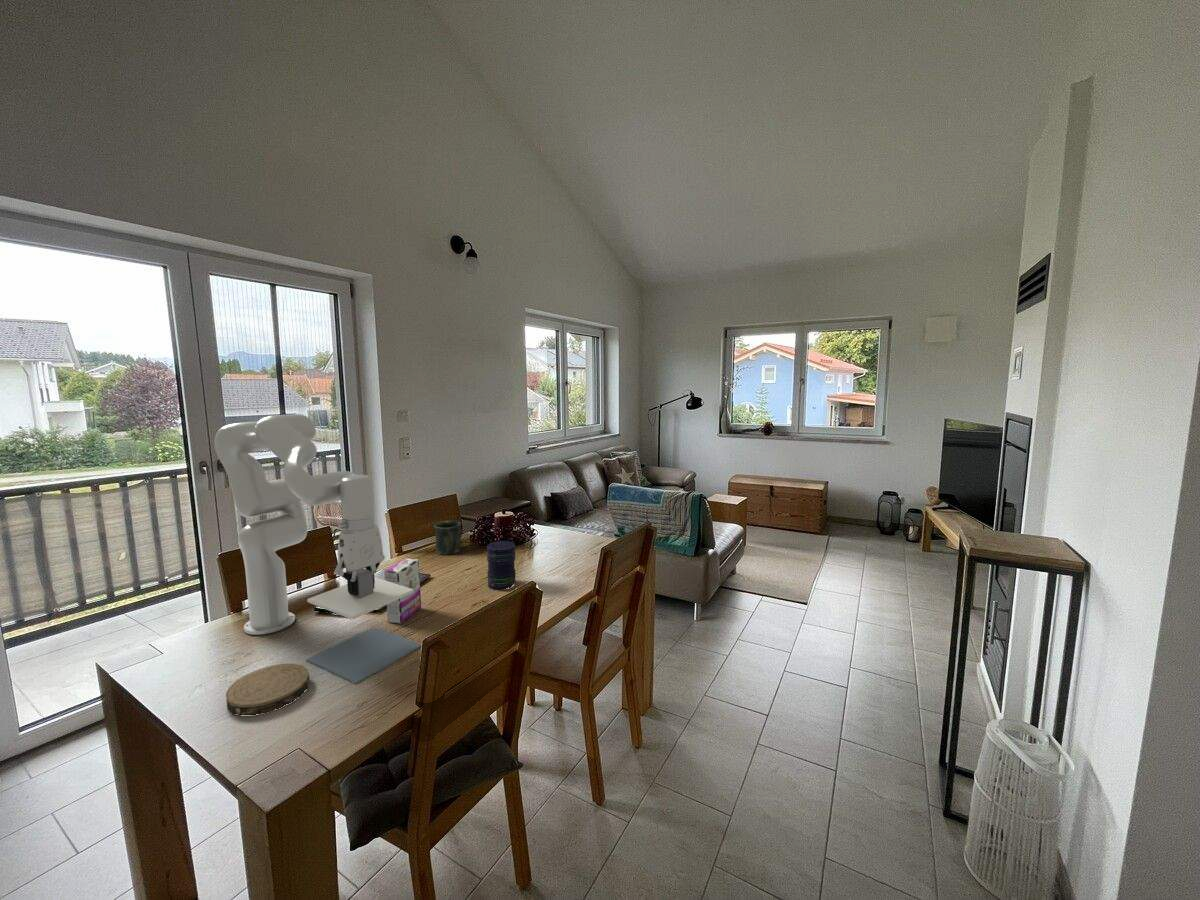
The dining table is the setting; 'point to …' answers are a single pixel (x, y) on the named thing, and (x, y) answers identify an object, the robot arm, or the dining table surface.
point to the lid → (360, 596)
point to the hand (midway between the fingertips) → (361, 590)
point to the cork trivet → (267, 689)
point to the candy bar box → (407, 577)
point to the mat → (364, 654)
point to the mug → (448, 537)
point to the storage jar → (501, 564)
